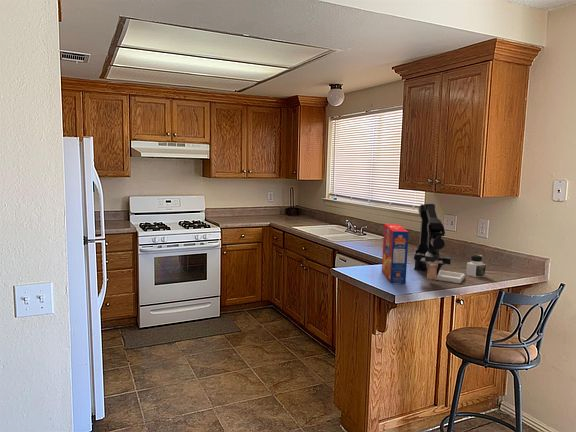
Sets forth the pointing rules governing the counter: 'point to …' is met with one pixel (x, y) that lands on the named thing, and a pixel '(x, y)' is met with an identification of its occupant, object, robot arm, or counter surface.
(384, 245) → the cereal box
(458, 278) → the tray
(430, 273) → the peach rounded cylinder
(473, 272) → the medicine bottle
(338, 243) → the counter surface
